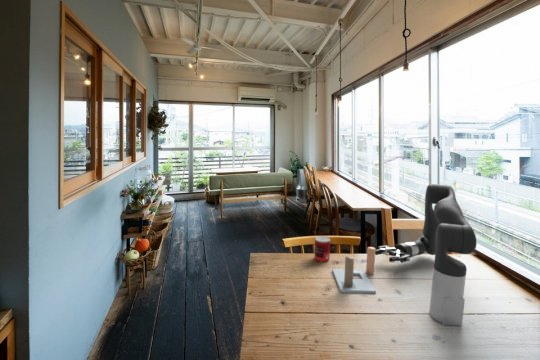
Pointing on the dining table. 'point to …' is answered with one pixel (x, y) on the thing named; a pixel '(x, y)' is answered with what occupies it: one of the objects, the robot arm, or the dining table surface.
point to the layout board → (358, 282)
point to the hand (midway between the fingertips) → (382, 256)
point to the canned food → (322, 249)
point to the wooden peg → (370, 260)
